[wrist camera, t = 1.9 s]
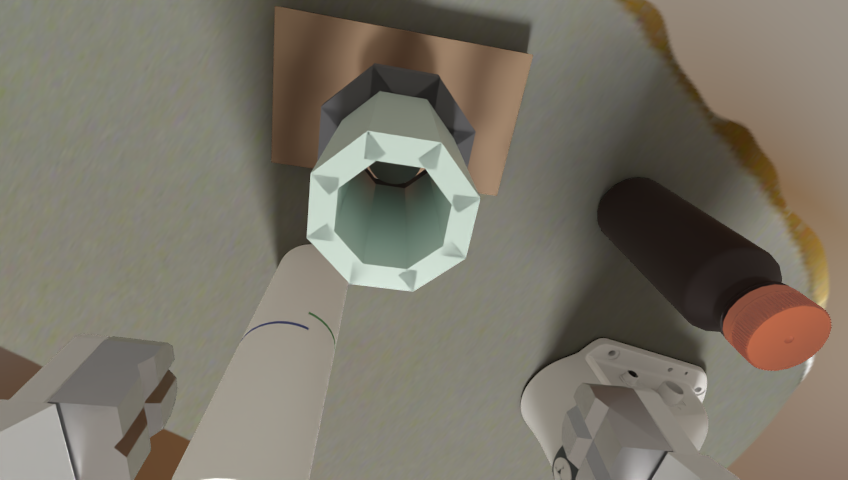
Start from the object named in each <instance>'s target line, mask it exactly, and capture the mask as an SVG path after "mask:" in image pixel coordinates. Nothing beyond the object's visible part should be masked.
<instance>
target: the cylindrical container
mask: <svg viewBox="0 0 848 480" xmlns="http://www.w3.org/2000/svg"><path fill="white" fill-rule="evenodd" d="M348 283H349V282H348V281H347V280H346V279H345V278H344V277H343V276H342V275H341V274H340V273H339V272H338V271H337V270H336V268H335V267H334V266H333V265H332V264H331V263H330V262H329V261H328V260H327V259H326V258H325V257H324V256H323V255H322V254H321V252H320V251H319V250H318V249H317V248H316V247H315V246H314V245H313V244H308V245H301V246H298V247H295V248H294V249H292V250H290V251H289V252H288V253H287V254H285V256H284V257H283V258H282V260H281V262H280V264H279V266H278V268H277V270H276V272H275V274H274V276H273V278H272V280H271V282H270V284H269V286H268V288H267V290H266V292H265V294H264V296H263V298H262V300H261V302H260V304H259V306H258V308H257V310H256V312H255V314H254V316H253V318H252V320H251V322H250V324H249V326H248V328H247V330H246V332H245V334H244V336H243V338H242V340H241V342H240V344H239V346H238V348H237V350H236V352H235V354H234V356H233V358H232V360H231V362H230V364H229V366H228V368H227V370H226V372H225V374H224V376H223V378H222V380H221V382H220V384H219V386H218V388H217V390H216V392H215V394H214V396H213V398H212V400H211V402H210V404H209V406H208V408H207V410H206V412H205V414H204V416H203V418H202V420H201V422H200V424H199V426H198V428H197V430H196V432H195V434H194V436H193V438H192V439H191V441H190V443H189V445H188V447H187V450H186V451H185V454H184V456H183V458H182V459H181V461H180V464H179V465H178V468H177V469H176V472H175V474H174V476H173V478H172V480H309V476H310V472H311V467H312V462H313V457H314V452H315V447H316V442H317V437H318V432H319V427H320V422H321V417H322V412H323V407H324V402H325V397H326V392H327V387H328V382H329V377H330V372H331V367H332V362H333V357H334V352H335V347H336V342H337V337H338V332H339V327H340V322H341V318H342V313H343V308H344V303H345V298H346V293H347V288H348Z"/></svg>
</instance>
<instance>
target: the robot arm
mask: <svg viewBox="0 0 848 480" xmlns="http://www.w3.org/2000/svg"><path fill="white" fill-rule="evenodd" d="M610 351H611V352H610ZM174 360H175V359H174V352H173V346H172V345H170V344H169V343H165V342H157V341H149V340H140V339H132V338H123V337H115V336H112V337H109V336H102V335H94V334H86V333H83V334H81V335H78V336H75V337H74V338H72V339H71V340H70V341H69V342H68V343H67V344H66V345H65V346H64V347H63V348H62V349H61V350H60V351H59V352H58V353H57V354H56V355H55V356H54V357H53V358H52V359H51V360H50V361H49V362H48V363H47V364H46V365H45V366H44V367H42V368H41V369H40V370H39V372H38V373H36V374H35V375H34V376H33V377H32V378H31V379H30V380H29V381H28V382H27V383H26V384H25V385H24V386H23V387H22V388H21V389H20V390H19V391H18V392H17V393H16V394H15V395H14V396H13V397H12V398H10V399H9V400H0V480H133V479H134V478H135V476H136V475H137V473H138V471H139V469H140V468H141V466H142V464H143V463H144V461H145V459H146V457H147V456H148V454H149V452H150V451H151V445H150V437H151V436H153V435H154V434H156V433H157V432H159V431H160V430H162V429H163V428H164V426H165V425H166V423H167V421H168V419H169V417H170V416H171V413H172V410H173V407H174V404H175V400H176V393H177V379H176V377H175V376H174V375H173V373H172V372H171V371H170V370H169V367H170V366H171V364H172V363H173V361H174ZM706 389H707V377H706V374H705V372H704V371H703V369H702V368H701V367H699V366H696V365H693V364H690V363H687V362H683V361H680V360H677V359H673V358H670V357H667V356H663V355H660V354H657V353H653V352H650V351H647V350H643V349H640V348H637V347H633V346H630V345H627V344H623V343H620V342H617V341H613V340H610V339H606V338H600V339H597V340H595V341H593V342H592V343H590V344H589V345H588V346H586V347H585V348H584V349H582V350H581V351H580V352H578V353H576V354H574V355H571V356H568V357H566V358H563V359H560V360H558V361H556V362H554V363H552V364H550V365H549V366H547V367H545V368H544V369H543V370H541V371H540V372H539V373H538V374H537V375H536V376H535V377H534V378H533V379H532V380H531V381H530V382H529V384H528V385H527V387H526V389H525V391H524V393H523V396H522V399H521V412H522V416H523V418H524V420H525V422H526V423H527V424H528V426H529V427H530V428H531V430H532V431H533V433H534V434H535V436H536V437H537V439H538V441H539V442H540V444H541V446H542V448H543V450H544V452H545V454H546V456H547V458H548V460H549V462H550V464H551V467H552V471H553V476H554V480H741V479H739V478H738V477H737V476H735V475H734V474H733V473H731V472H730V471H729V470H727V469H726V468H724V467H723V466H722V465H720V464H719V463H718V462H716V461H715V460H713V459H712V458H711V457H709V456H708V455H700V453H699V450H700V448H701V447H702V445H703V443H704V441H705V438H706V435H707V432H708V425H709V423H708V416H707V413H706V410H705V408H704V406H703V404H702V402H703V399H704V397H705V393H706Z"/></svg>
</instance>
